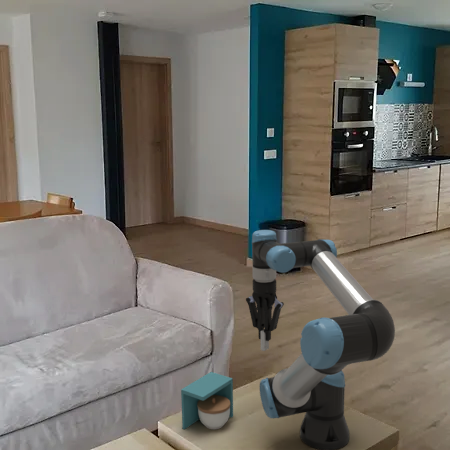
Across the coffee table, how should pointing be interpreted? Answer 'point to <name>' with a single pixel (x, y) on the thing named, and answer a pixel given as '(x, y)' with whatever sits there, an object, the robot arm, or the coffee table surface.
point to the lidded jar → (214, 411)
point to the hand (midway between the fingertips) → (264, 349)
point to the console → (204, 395)
